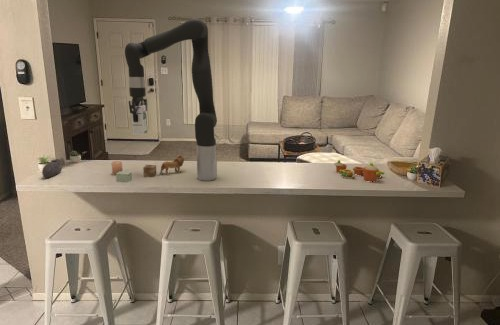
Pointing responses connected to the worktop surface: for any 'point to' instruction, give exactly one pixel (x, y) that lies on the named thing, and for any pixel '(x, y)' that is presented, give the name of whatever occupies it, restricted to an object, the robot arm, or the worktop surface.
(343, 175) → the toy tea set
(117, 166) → the orange-brown rounded piece
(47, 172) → the perforated stone tool
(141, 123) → the syrup box
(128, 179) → the sage painted block
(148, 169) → the walnut block
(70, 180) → the worktop surface
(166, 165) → the lion figurine
